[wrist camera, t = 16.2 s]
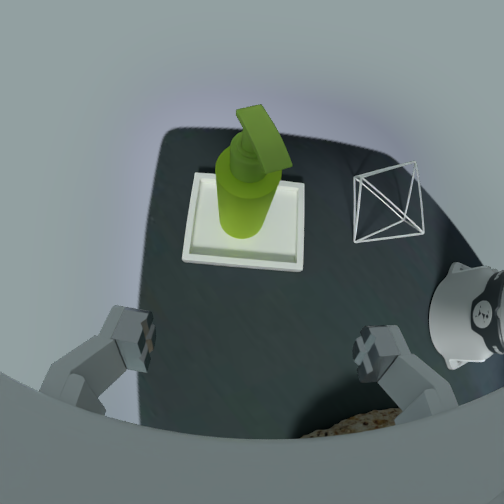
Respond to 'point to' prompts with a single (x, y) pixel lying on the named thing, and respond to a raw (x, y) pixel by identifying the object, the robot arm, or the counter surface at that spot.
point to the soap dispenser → (249, 173)
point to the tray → (251, 249)
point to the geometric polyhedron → (386, 204)
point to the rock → (360, 423)
